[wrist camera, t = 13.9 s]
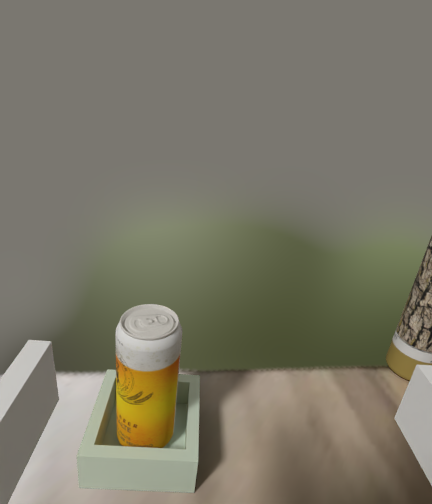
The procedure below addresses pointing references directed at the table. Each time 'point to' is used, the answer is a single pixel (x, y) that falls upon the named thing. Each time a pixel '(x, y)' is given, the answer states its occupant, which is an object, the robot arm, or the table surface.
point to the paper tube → (414, 325)
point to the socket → (141, 458)
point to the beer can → (147, 375)
